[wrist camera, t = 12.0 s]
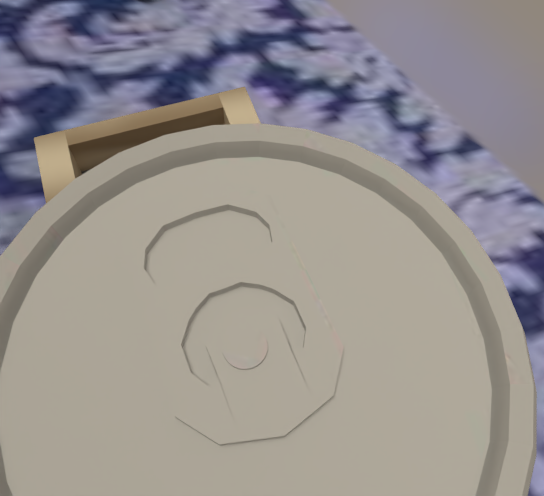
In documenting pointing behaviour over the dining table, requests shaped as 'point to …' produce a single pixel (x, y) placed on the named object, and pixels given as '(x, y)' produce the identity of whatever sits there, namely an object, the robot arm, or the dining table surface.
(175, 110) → the board
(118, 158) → the beverage can
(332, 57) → the dining table surface
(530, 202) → the dining table surface
